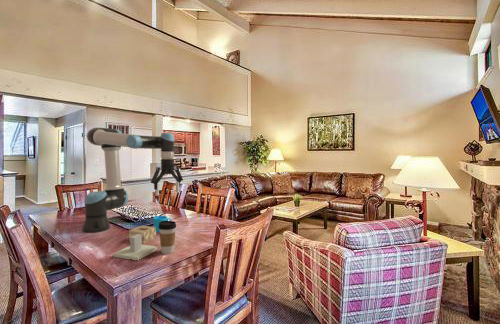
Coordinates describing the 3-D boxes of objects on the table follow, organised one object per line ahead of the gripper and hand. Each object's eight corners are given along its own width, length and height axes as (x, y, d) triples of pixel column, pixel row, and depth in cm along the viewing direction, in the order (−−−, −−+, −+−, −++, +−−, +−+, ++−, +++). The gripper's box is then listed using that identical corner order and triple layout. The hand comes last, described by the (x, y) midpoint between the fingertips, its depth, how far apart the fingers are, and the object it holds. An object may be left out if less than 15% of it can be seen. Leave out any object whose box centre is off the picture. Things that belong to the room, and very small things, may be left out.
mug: (156, 233, 157) (156, 220, 157) (151, 230, 163) (151, 217, 163) (175, 229, 165) (175, 216, 165) (169, 226, 171) (169, 214, 171)
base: (113, 256, 122) (113, 239, 122) (134, 246, 136) (134, 230, 135) (137, 260, 118) (137, 242, 118) (157, 249, 132) (157, 233, 131)
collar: (144, 243, 140) (144, 232, 140) (129, 241, 143) (128, 230, 142) (155, 237, 149) (155, 227, 149) (141, 235, 152) (141, 225, 152)
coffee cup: (161, 248, 133) (160, 219, 132) (177, 248, 134) (177, 219, 133) (156, 255, 125) (156, 224, 124) (174, 254, 125) (174, 224, 125)
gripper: (150, 159, 144) (151, 197, 145) (188, 158, 162) (188, 192, 163) (144, 158, 149) (144, 195, 150) (181, 158, 167) (181, 190, 168)
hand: (167, 193), depth 157 cm, fingers open, 13 cm apart
